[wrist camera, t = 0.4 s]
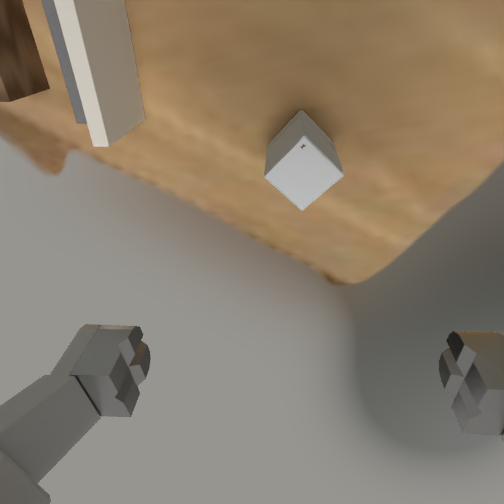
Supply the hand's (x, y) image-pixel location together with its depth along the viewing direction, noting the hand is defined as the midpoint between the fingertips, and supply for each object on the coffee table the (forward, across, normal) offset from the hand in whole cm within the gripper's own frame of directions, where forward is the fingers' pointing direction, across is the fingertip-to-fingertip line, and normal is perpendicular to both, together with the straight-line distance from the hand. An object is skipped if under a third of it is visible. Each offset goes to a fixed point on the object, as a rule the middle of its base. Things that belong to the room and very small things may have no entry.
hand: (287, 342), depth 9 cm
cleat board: (+47, +26, -6) cm, 54 cm away
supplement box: (+47, -2, +10) cm, 48 cm away
